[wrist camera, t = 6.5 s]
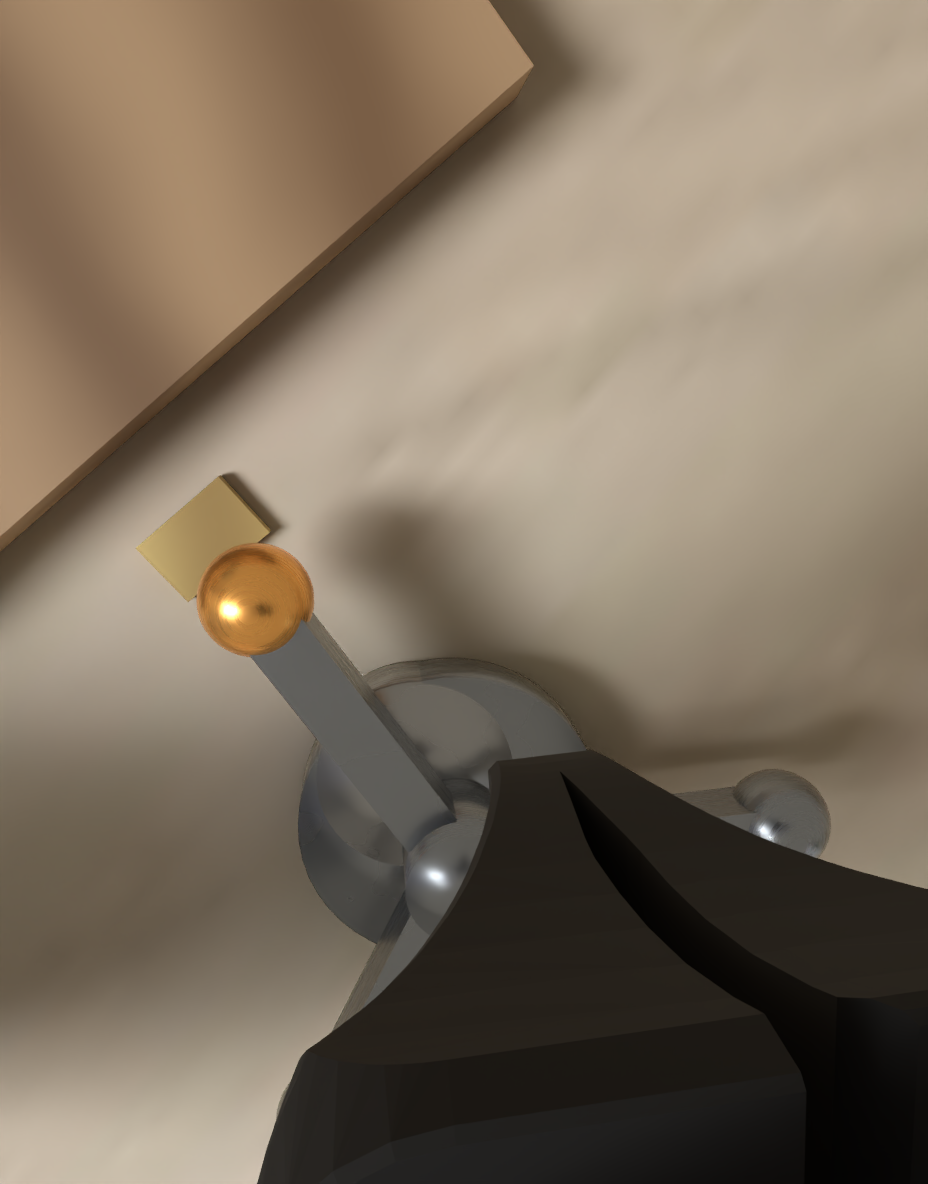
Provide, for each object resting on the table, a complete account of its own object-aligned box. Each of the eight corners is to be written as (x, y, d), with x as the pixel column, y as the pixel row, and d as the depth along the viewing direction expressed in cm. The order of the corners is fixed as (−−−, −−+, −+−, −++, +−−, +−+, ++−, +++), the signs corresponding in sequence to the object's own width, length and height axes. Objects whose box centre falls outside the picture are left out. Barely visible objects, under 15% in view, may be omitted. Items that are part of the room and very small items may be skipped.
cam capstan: (780, 770, 23) (871, 857, 19) (321, 1073, 23) (312, 1220, 19) (508, 340, 19) (546, 331, 15) (-16, 708, 20) (-113, 793, 16)
